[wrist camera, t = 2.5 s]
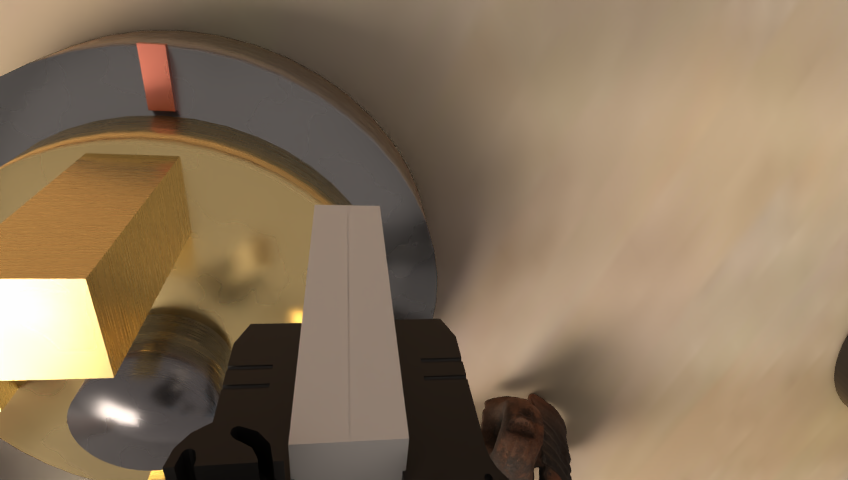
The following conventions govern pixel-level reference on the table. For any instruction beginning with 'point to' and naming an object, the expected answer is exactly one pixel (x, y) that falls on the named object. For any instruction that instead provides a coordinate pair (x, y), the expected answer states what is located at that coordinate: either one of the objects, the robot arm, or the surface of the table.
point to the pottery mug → (526, 438)
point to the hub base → (242, 110)
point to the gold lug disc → (138, 257)
